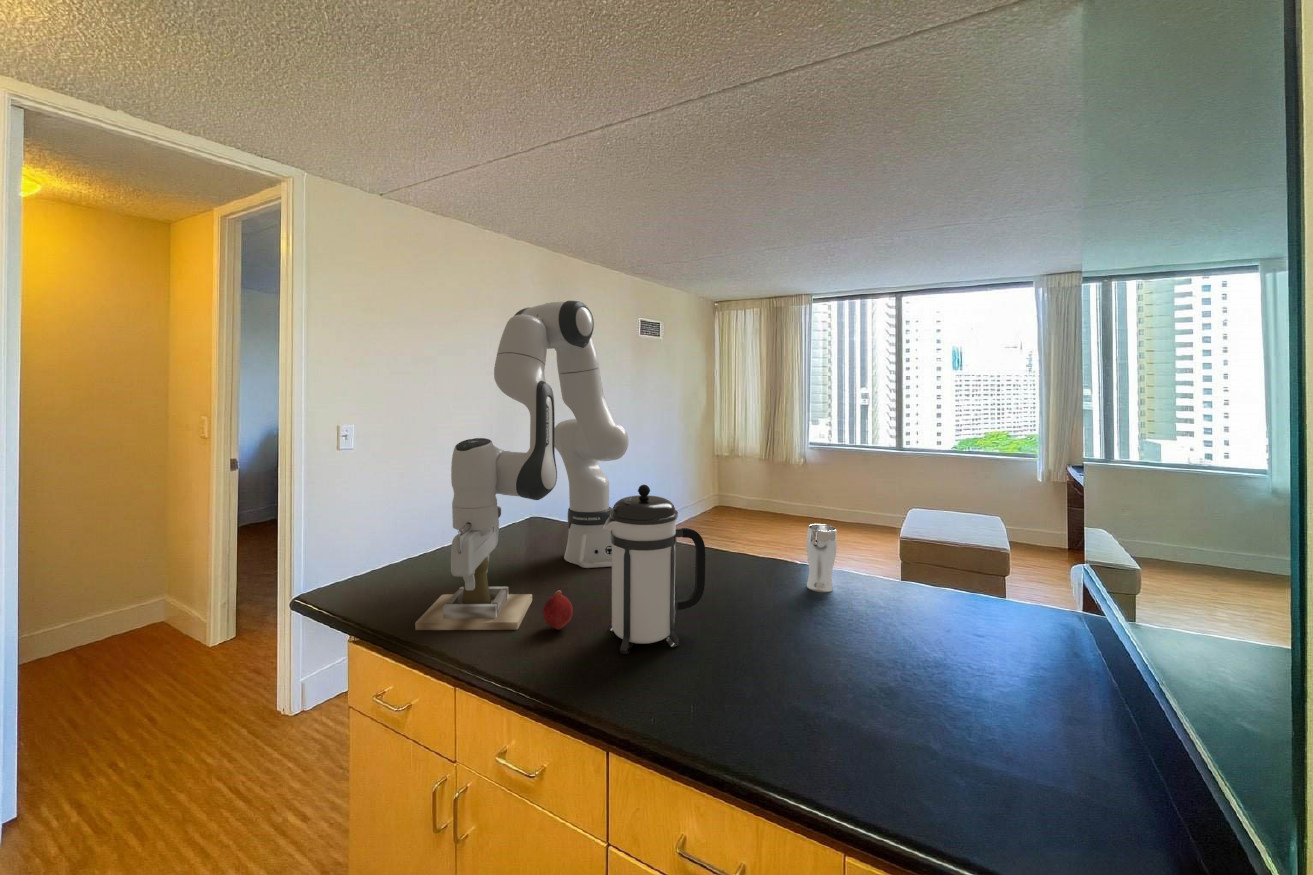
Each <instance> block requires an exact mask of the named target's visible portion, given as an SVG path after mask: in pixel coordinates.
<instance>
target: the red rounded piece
mask: <svg viewBox="0 0 1313 875" xmlns="http://www.w3.org/2000/svg"><path fill="white" fill-rule="evenodd" d="M562 593H563V592H562V590H561V589H560V590H557V591H556V592H555V593H554V594H553V595H551V596H550V597H549V598H548V599H547V600H546V601H545V604H544V606H543V609H542V618H543V620H544V622H545V623H546V624H547V625H548V626H549V627H551V628H553V629H556V630H557V631H559V630H561V629H563V628H564V627H565V626H566V625H567V624H568V623H569V622H570V621H571V620H572V617H573V612H574V608H573V605H572V603H571V601H570V599H568V597H566V596H565V595H563V594H562Z"/></svg>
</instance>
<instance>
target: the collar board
mask: <svg viewBox="0 0 1313 875" xmlns="http://www.w3.org/2000/svg"><path fill="white" fill-rule="evenodd" d="M488 587H489V594H490V600H491V604H462V600H463V591H464V586H460V587H459V588H458V589H457V590H456V592H454V594H453V593H452V594H448V593H447V594H441V595H440V596H439V597H438V598H437V599H436V600H435V601H434V603H433V604H431V606H429V608H428V609H427V610H426V611H425V612H424V613H423V614H422V615H421V616H420V617H419V618H418V619H417V620H416V621H415V622H414V626H415V631H468V630H469V631H474V630H475V631H476V630H477V631H482V630H483V631H486V630H488V631H490V630H491V631H492V630H493V631H495V630H497V631H498V630H499V631H500V630H501V631H502V630H503V631H504V630H506V631H508V630H510V631H511V630H518V629H519V628H520V626H521V624H522V622H523V620H524V618H525V616H526V613H527V612H528V610H529V608H530V605H531V603H532V602H533V594H531V593H527V594H526V593H521V594H520V593H516V594H515V593H509V586H488Z"/></svg>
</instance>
